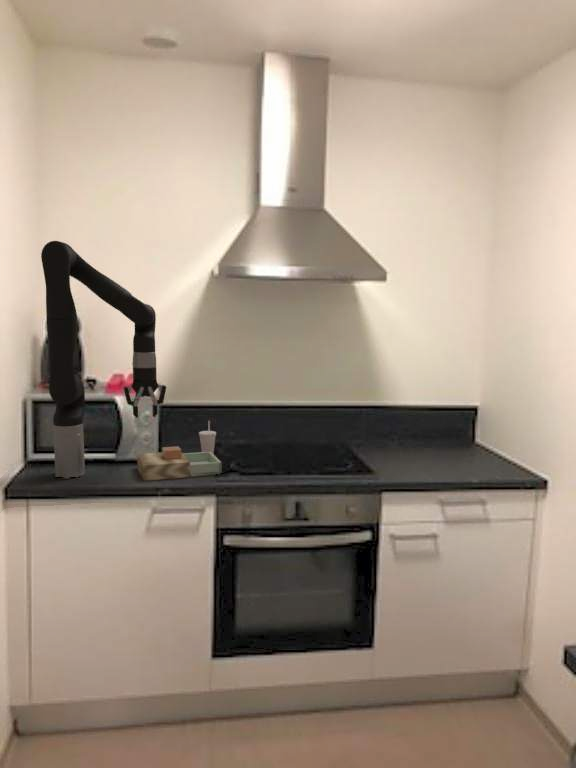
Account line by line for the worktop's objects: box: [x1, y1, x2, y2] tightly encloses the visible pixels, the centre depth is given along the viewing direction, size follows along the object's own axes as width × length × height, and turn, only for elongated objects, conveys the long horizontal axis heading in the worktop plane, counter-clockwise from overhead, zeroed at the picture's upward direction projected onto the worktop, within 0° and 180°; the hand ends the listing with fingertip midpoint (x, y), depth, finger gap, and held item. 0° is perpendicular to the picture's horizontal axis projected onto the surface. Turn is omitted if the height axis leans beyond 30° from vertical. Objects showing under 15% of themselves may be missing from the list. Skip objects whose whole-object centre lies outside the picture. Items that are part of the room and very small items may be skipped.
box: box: [182, 451, 223, 478], centre depth 222 cm, size 10×16×4 cm, turn 20°
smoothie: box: [198, 420, 217, 454], centre depth 236 cm, size 6×6×14 cm
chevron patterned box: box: [136, 451, 191, 482], centre depth 217 cm, size 15×16×5 cm
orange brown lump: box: [161, 445, 182, 460], centre depth 218 cm, size 6×6×3 cm
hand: (145, 416), depth 213 cm, fingers open, 5 cm apart
